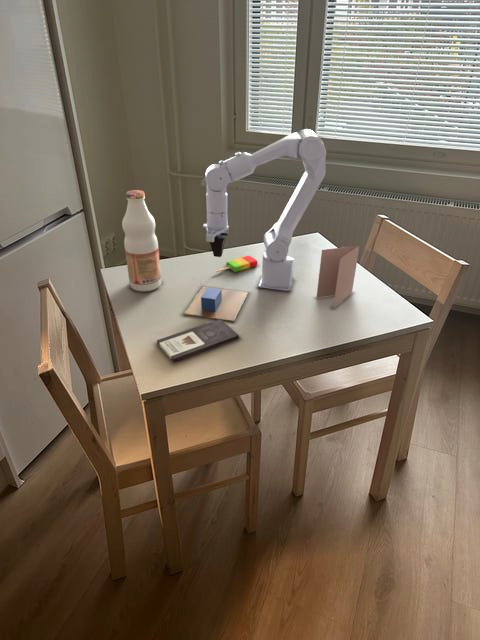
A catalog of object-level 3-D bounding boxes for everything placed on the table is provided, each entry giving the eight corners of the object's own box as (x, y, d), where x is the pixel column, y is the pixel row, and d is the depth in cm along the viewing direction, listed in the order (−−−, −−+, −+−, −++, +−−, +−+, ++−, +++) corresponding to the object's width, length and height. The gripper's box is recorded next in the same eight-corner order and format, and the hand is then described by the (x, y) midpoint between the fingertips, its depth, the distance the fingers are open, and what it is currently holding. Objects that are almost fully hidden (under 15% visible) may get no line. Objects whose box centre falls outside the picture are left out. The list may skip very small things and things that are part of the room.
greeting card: (350, 291, 135) (358, 244, 127) (363, 303, 129) (371, 254, 121) (315, 296, 132) (320, 248, 124) (326, 309, 126) (332, 259, 118)
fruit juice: (123, 288, 135) (109, 194, 120) (142, 275, 142) (131, 185, 127) (149, 295, 132) (139, 199, 117) (167, 281, 139) (159, 190, 124)
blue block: (221, 288, 126) (215, 299, 121) (221, 301, 128) (215, 312, 124) (207, 287, 127) (200, 297, 122) (208, 299, 129) (201, 310, 124)
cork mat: (248, 293, 133) (248, 292, 133) (234, 321, 120) (234, 320, 120) (202, 287, 136) (202, 286, 136) (184, 314, 123) (184, 313, 123)
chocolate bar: (238, 335, 113) (173, 359, 105) (238, 338, 113) (173, 362, 105) (220, 318, 119) (156, 340, 111) (220, 321, 120) (157, 343, 111)
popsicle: (258, 265, 149) (258, 260, 148) (219, 277, 142) (219, 271, 141) (249, 259, 153) (249, 254, 152) (210, 270, 145) (210, 265, 144)
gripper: (211, 201, 132) (212, 244, 139) (194, 218, 120) (196, 264, 127) (234, 203, 131) (234, 247, 138) (220, 220, 119) (220, 267, 126)
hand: (217, 255), depth 133 cm, fingers closed
